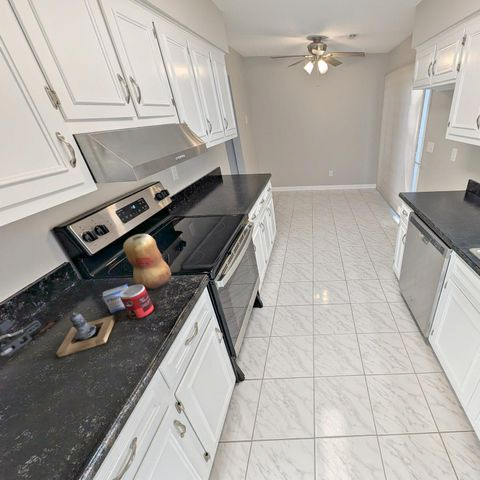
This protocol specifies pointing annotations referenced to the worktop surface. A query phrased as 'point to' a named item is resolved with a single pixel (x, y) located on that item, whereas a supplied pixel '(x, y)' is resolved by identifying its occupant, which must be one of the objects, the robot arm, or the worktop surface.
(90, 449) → the worktop surface
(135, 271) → the butternut squash
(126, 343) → the worktop surface
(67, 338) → the wooden frame
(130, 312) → the canned food
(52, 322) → the can opener
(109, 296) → the medicine box
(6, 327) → the robot arm
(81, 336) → the grey tall rounded piece
